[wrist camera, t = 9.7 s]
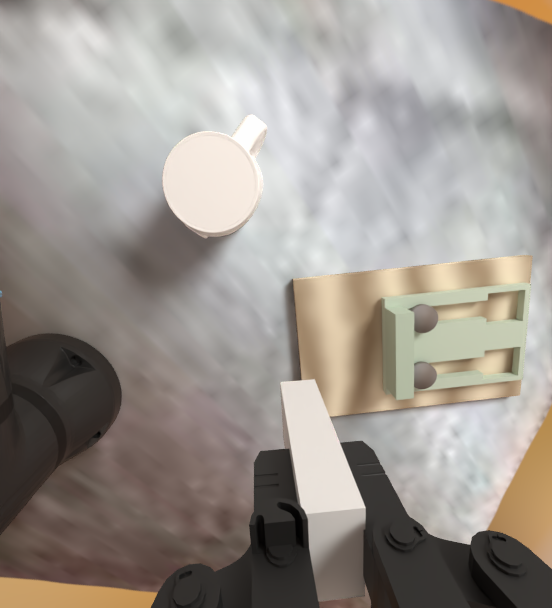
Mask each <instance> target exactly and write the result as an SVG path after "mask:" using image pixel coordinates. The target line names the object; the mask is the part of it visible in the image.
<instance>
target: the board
mask: <svg viewBox="0 0 552 608" xmlns="http://www.w3.org/2000/svg"><path fill="white" fill-rule="evenodd" d="M531 267H532V256H529V255H519V256H510V257H500V258H490V259H481V260H471V261H461V262H451V263H442V264H432V265H422V266H413V267H403V268H393V269H383V270H374V271H364V272H354V273H345V274H335V275H325V276H315V277H306V278H296V279H293V290H294V302H295V314H296V325H297V337H298V349H299V360H300V372H301V380H312V379H315V381H316V384H317V386H318V389H319V392H320V394H321V397H322V399H323V402H324V404H325V407H326V409H327V412H328V414H329V417H332V416H341V415H350V414H359V413H367V412H376V411H385V410H394V409H403V408H412V407H421V406H430V405H438V404H447V403H456V402H465V401H474V400H483V399H492V398H500V397H509V396H518V395H520V389H521V380H514V381H505V382H496V383H487V384H478V385H469V386H460V387H451V388H442V389H434V390H425V391H416V392H414V398H412V399H403V400H396V399H395V398H394V397H393V395H392V394H389V395H386V394H385V392H384V391H383V351H382V301H381V297H390V296H400V295H409V294H419V293H429V292H438V291H448V290H457V289H467V288H476V287H486V286H495V285H505V284H514V283H529V284H530V278H531ZM518 291H519V290H517V291H507V292H498V293H488V300H486V301H476V302H467V303H457V304H448V305H438V306H428V305H426V304H419V305H416V306H414V307H413V308H410V309H409V310H410V311H412V312H414V331H416V332H418V333H427V332H430V331H431V330H433V329H434V328H435V326H436V325H437V322H438V321H442V320H451V319H460V318H470V317H479V316H481V317H484V318H486V319H487V320H486V322H491V321H501V320H510V319H516V315H517V303H518ZM513 352H514V347H513V348H504V349H494V350H485V353H484V357H478V358H469V359H460V360H450V361H441V362H432V363H427V362H424V361H420V362H416V363H414V387H415V388H417V389H427V388H429V387H431V386H432V385H433V384H434V383H435V381H436V379H437V375H438V374H447V373H456V372H465V371H474V370H479V371H480V372H482V373H483V375H490V374H499V373H508V372H512V364H513Z"/></svg>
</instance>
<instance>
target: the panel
mask: <svg viewBox="0 0 552 608" xmlns="http://www.w3.org/2000/svg"><path fill="white" fill-rule="evenodd" d="M517 290H519V291H518V303H517V315H516V319H510V320H501V321H491V322H486V320H487V319H486V318H484V317H481V316H479V317H470V318H460V319H451V320H442V321H438V322H437V325H436V326H435V328H434V329H433V330H431V331H430V332H427V333H418V332H416V331H414V312H412V311H410V310H409V309H410V308H413V307H414V306H416V305H419V304H426V305H428V306H438V305H448V304H457V303H467V302H476V301H486V300H488V293H498V292H507V291H517ZM530 291H531V284H529V283H514V284H505V285H495V286H486V287H476V288H467V289H457V290H448V291H438V292H429V293H419V294H409V295H400V296H390V297H381V301H382V351H383V391H384V392H385V394H386V395H389V394H392V395H393V397H394V398H395V399H396V400H403V399H412V398H414V392H416V391H425V390H434V389H442V388H451V387H460V386H469V385H478V384H487V383H496V382H505V381H514V380H522V379H523V368H524V357H525V346H526V335H527V324H528V313H529V302H530ZM513 347H514V352H513V364H512V372H508V373H499V374H490V375H483V373H482V372H480V371H479V370H474V371H465V372H456V373H447V374H438V375H437V379H436V381H435V383H434V384H433V385H432V386H431V387H429V388H427V389H417V388H415V387H414V363H416V362H420V361H424V362H427V363H432V362H441V361H450V360H460V359H469V358H478V357H484V353H485V350H494V349H504V348H513Z"/></svg>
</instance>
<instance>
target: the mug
mask: <svg viewBox="0 0 552 608" xmlns="http://www.w3.org/2000/svg"><path fill="white" fill-rule="evenodd" d="M266 134H267V126H266V124H265V123H263V122H262V121H261V120H259V119H258V118H257V117H256V116H254V115H248V116H246V117H245V118H244V119H243V121H242V122H241V123H240V125H239V126H238V127H237V129H236V130H235V132H234V133H233V135H232V136H231V137H230V136H228V135H225V134H223V133H219V132H213V131H204V132H198V133H194V134H192V135H189V136H187V137H185V138H184V139H182V140H181V141H180V142H179V143H177V144H176V145H175V147H174V148H173V149H172V150H171V152H170V153H169V155H168V157H167V159H166V162H165V165H164V168H163V175H162V184H163V191H164V195H165V198H166V201H167V203H168V205H169V207H170V208H171V210H172V211H173V213H174V214H175V215H176V216H177V217H178V218H179V219H180V220H181V221H182V222H183V223H184V224H185V226H186V227H187V228H189V229H190V230H192V231H194V232H195V233H196V234H198V235H199V236H201V237H203V238H206V239H207V238H208V236H211V237H220V236H225V235H229V234H231V233H233V232H235V231H237V230H238V229H240V228H241V227H242V226H243V225H244V224H245V223H246V222H247V221H248V220H249V219H250V218H251V217H252V215H253V214H254V212H255V210H256V209H257V207H258V204H259V202H260V199H261V196H262V191H263V177H262V173H261V170H260V168H259V166H258V164H257V162H256V161H255V158H256V156H257V155H258V153H259V151H260V149H261V147H262V145H263V143H264V140H265V137H266Z"/></svg>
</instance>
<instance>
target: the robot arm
mask: <svg viewBox="0 0 552 608" xmlns="http://www.w3.org/2000/svg"><path fill="white" fill-rule="evenodd" d="M0 297H2V292H1V290H0ZM280 386H281V403H282V421H283V438H284V445H285V449H279V450H268V451H260V453H259V455H258V456H257V458H256V460H255V462H254V512H253V514H252V516H251V520H250V524H249V527H250V538H251V545H250V547H249V548H248V550H247V551H246V553H245V554H244V555H243V556H242V557H241V558H240V559H239V560H237V561H236V562H234V563H232V564H231V565H229V566H227V567H225V568H222V569H220V570H218V571H216V572H214V571H213V570H212V569H211V567H208V566H205V565H203V564H189V565H187V566H185V567H183V568H180V569H178V570H177V571H176V572H174V573H173V574H172V575H171V576H170V577H169V578H167V580H166V581H165V583H164V584H163V586H162V587H161V589H160V590H159V592H158V594H157V596H156V598H155V600H154V602H153V604H152V606H151V608H319V601H327V600H336V599H344V598H353V597H362V596H365V583H366V586H367V590H368V593H369V596H370V599H371V608H552V569H551V568H550V567H549V566H548V565H547V564H545V563H544V562H543V561H542V560H541V559H540V558H539V557H538V556H536V555H535V554H534V553H533V552H532V551H531V550H530V549H529V548H527V547H526V546H524V545H523V544H522V543H520V542H519V541H518V540H516V539H514V538H512V537H510V536H508V535H506V534H503V533H500V532H494V531H490V530H488V531H482V532H478V533H477V534H476V535H474V536H473V537H472V541H471V545H467V544H462V543H458V542H453V541H448V540H444V539H440V538H437V537H434V536H432V535H430V534H428V532H427V531H426V530H425V529H424V527H423V526H422V525H421V524H419V523H418V522H417V521H415V520H414V519H412V518H410V517H409V515H408V514H407V512H406V510H405V509H404V507H403V505H402V503H401V501H400V499H399V497H398V495H397V494H396V492H395V490H394V488H393V486H392V484H391V482H390V480H389V479H388V477H387V475H386V474H385V471H384V469H383V467H382V466H381V465H380V462H379V460H378V458H377V456H376V454H375V452H374V451H373V450H372V449H371V448H370V447H369V446H368V445H366V444H365V443H364V442H363V441H354V442H343V443H340V442H339V439H338V437H337V434H336V432H335V429H334V427H333V424H332V422H331V419H330V417H329V414H328V412H327V409H326V407H325V404H324V402H323V399H322V397H321V394H320V392H319V389H318V386H317V384H316V381H315V379H312V380H300V381H288V382H280ZM120 406H121V387H120V383H119V380H118V377H117V375H116V372H115V371H114V369H113V367H112V366H111V364H110V363H109V362H108V360H107V359H106V358H105V357H104V356H103V355H102V354H101V353H100V352H99V351H97V350H96V349H95V348H93V347H92V346H90V345H89V344H87V343H85V342H83V341H81V340H79V339H76V338H73V337H70V336H66V335H61V334H39V335H34V336H30V337H27V338H25V339H22V340H20V341H18V342H16V343H14V344H12V345H10V346H8V347H6V344H5V337H4V329H3V321H2V313H1V304H0V535H1V534H2V532H3V531H4V530H5V529H6V528H7V526H8V525H9V524H10V523H11V522H12V520H13V519H14V518H15V517H16V516H17V514H18V513H19V512H20V511H21V510H22V508H23V507H24V506H25V505H26V504H27V502H28V501H29V500H30V499H31V498H32V496H33V495H34V494H35V493H36V492H37V490H38V489H39V488H40V487H41V486H42V484H43V483H44V482H45V481H46V480H47V478H48V477H49V476H50V475H51V474H52V473H53V471H54V470H55V469H56V468H57V467H58V466H59V465H61V464H62V463H64V462H66V461H67V460H69V459H71V458H73V457H74V456H76V455H78V454H79V453H81V452H83V451H84V450H86V449H88V448H89V447H91V446H92V445H94V444H95V443H96V442H97V441H98V440H99V439H101V438H102V436H103V435H104V434H105V433H106V432H107V430H108V429H109V428H110V426H111V425H112V424H113V422H114V421H115V419H116V417H117V415H118V413H119V410H120Z"/></svg>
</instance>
